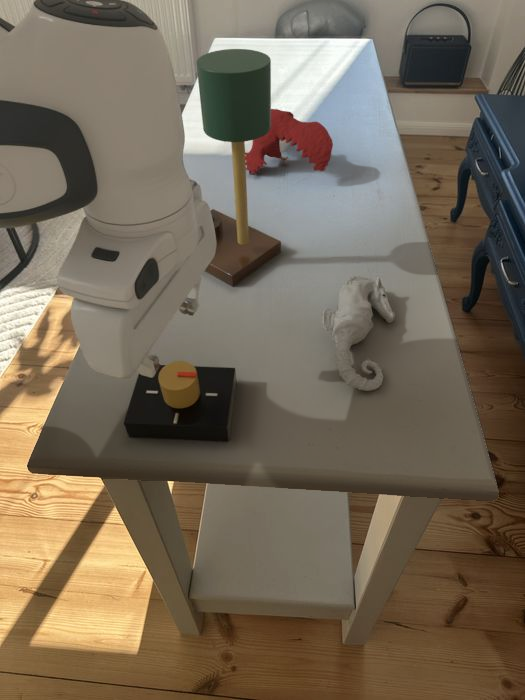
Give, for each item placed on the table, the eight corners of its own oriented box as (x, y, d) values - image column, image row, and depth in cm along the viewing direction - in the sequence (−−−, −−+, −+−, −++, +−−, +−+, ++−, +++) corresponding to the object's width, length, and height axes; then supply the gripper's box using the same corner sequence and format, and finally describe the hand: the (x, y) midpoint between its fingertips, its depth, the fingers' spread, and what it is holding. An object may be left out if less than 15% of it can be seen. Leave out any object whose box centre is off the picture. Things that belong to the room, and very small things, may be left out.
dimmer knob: (159, 407, 56) (154, 387, 54) (167, 378, 59) (162, 358, 57) (197, 409, 56) (193, 389, 53) (202, 380, 59) (199, 359, 56)
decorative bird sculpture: (312, 210, 99) (351, 142, 95) (289, 194, 91) (331, 119, 87) (226, 163, 113) (257, 102, 110) (199, 146, 105) (232, 80, 102)
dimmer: (128, 437, 57) (122, 422, 55) (146, 378, 63) (141, 363, 61) (228, 442, 57) (227, 427, 54) (236, 382, 63) (235, 366, 60)
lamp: (203, 243, 77) (180, 62, 58) (241, 219, 82) (231, 44, 63) (245, 265, 73) (235, 78, 54) (282, 239, 78) (285, 58, 58)
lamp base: (165, 248, 83) (161, 228, 80) (214, 219, 89) (212, 199, 86) (232, 287, 76) (231, 266, 73) (281, 252, 82) (281, 231, 79)
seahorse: (421, 388, 60) (395, 271, 71) (338, 373, 57) (324, 253, 68) (398, 406, 64) (377, 293, 75) (319, 393, 61) (310, 276, 72)
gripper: (167, 166, 49) (186, 275, 59) (41, 292, 35) (93, 404, 46) (225, 175, 47) (234, 285, 57) (115, 309, 34) (152, 421, 44)
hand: (171, 339), depth 51 cm, fingers open, 8 cm apart
